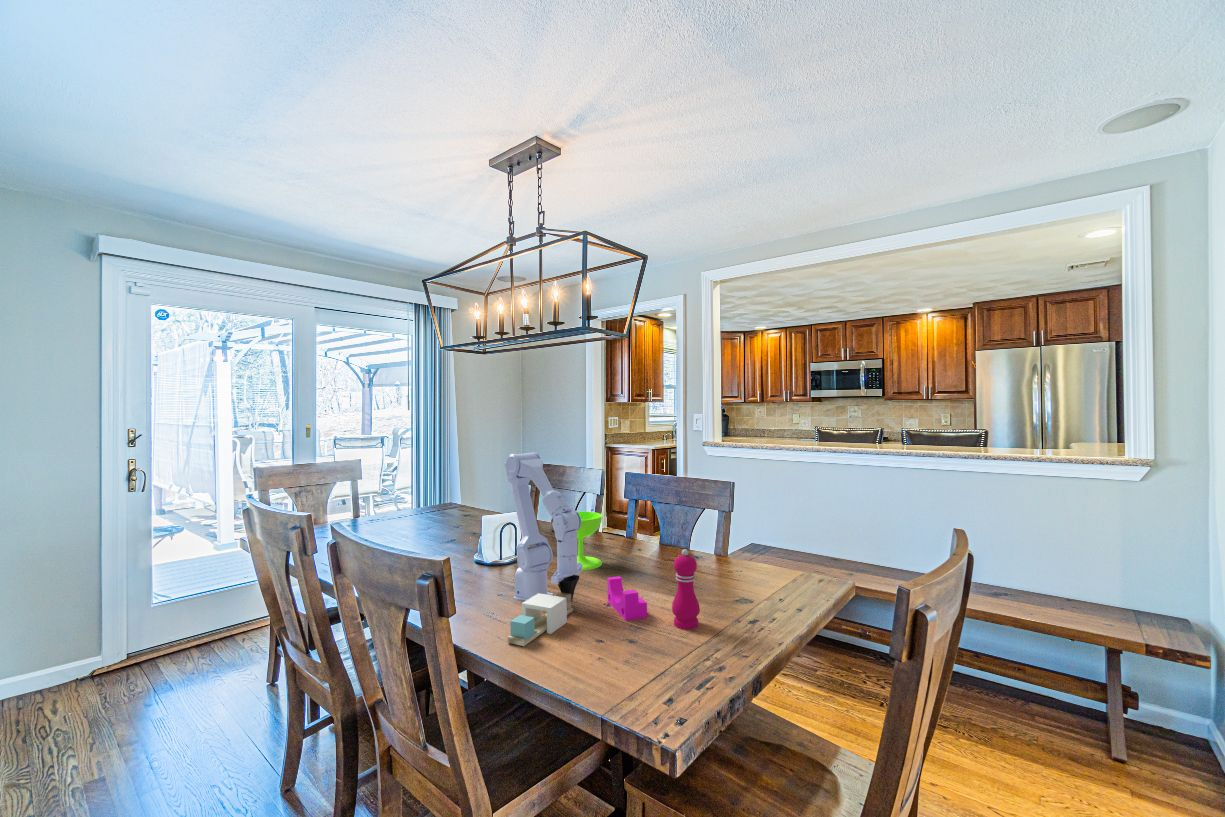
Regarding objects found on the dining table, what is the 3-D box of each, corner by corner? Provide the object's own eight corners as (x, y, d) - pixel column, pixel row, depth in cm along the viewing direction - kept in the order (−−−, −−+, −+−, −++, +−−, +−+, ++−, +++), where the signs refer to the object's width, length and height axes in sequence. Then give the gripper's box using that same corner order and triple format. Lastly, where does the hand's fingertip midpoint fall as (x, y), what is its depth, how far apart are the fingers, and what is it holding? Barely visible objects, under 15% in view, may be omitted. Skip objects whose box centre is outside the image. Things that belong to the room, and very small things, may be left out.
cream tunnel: (521, 629, 137) (521, 603, 137) (538, 618, 144) (538, 593, 144) (550, 635, 133) (550, 608, 133) (566, 623, 141) (566, 597, 141)
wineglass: (602, 571, 185) (601, 520, 185) (556, 571, 186) (555, 520, 186) (603, 558, 201) (602, 511, 201) (561, 558, 202) (560, 511, 202)
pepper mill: (682, 633, 133) (681, 554, 133) (666, 623, 140) (665, 547, 140) (705, 627, 137) (704, 550, 137) (689, 618, 143) (688, 544, 143)
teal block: (510, 638, 129) (510, 621, 129) (520, 631, 133) (520, 614, 133) (525, 641, 127) (524, 623, 127) (534, 634, 131) (534, 617, 131)
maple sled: (507, 642, 128) (507, 623, 128) (558, 608, 150) (558, 591, 150) (523, 646, 126) (523, 626, 126) (573, 610, 148) (572, 593, 148)
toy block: (647, 619, 143) (646, 591, 143) (625, 622, 141) (625, 594, 141) (627, 600, 158) (627, 575, 158) (607, 603, 155) (607, 577, 155)
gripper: (566, 562, 142) (567, 613, 142) (591, 549, 155) (591, 595, 155) (544, 559, 145) (544, 609, 145) (570, 547, 158) (570, 592, 158)
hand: (567, 602), depth 150 cm, fingers closed
